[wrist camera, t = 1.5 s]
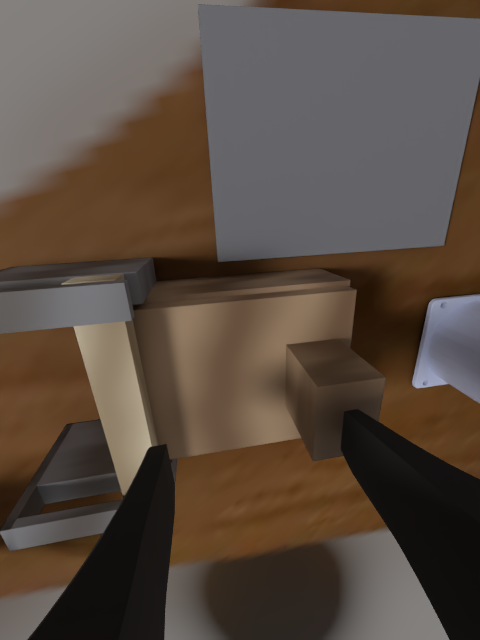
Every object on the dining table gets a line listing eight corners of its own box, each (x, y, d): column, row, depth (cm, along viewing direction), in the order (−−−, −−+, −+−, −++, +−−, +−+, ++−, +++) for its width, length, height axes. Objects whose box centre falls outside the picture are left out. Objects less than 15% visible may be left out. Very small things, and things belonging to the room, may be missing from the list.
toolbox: (320, 245, 18) (396, 261, 11) (311, 404, 23) (361, 482, 16) (11, 267, 16) (-130, 302, 9) (71, 440, 20) (9, 551, 13)
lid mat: (483, 25, 15) (492, 19, 15) (437, 245, 19) (443, 245, 19) (198, 11, 13) (198, 4, 13) (217, 260, 17) (218, 262, 17)
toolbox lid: (346, 285, 15) (415, 314, 10) (334, 420, 18) (381, 488, 14) (88, 309, 13) (31, 356, 9) (126, 453, 17) (100, 544, 12)
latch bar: (123, 273, 12) (115, 279, 11) (166, 486, 16) (164, 506, 15) (74, 277, 11) (61, 283, 10) (132, 493, 16) (128, 513, 15)
